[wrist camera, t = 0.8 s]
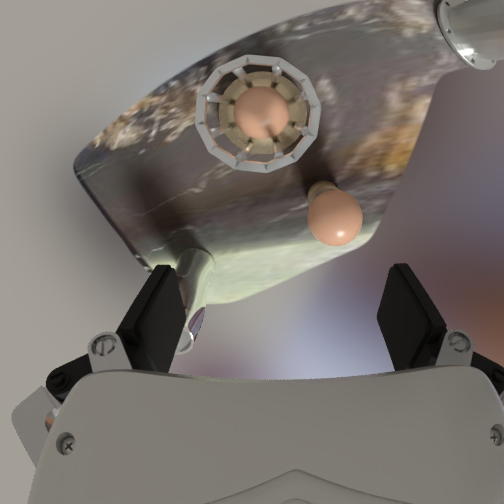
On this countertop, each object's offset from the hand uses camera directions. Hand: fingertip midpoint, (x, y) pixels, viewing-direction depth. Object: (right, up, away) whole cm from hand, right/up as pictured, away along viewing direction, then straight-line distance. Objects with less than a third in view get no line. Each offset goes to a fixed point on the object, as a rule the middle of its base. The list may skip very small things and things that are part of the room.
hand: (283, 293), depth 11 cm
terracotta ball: (+7, +5, +17) cm, 19 cm away
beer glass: (-10, 0, +30) cm, 31 cm away
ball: (0, +17, +15) cm, 22 cm away
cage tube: (0, +19, +18) cm, 26 cm away
